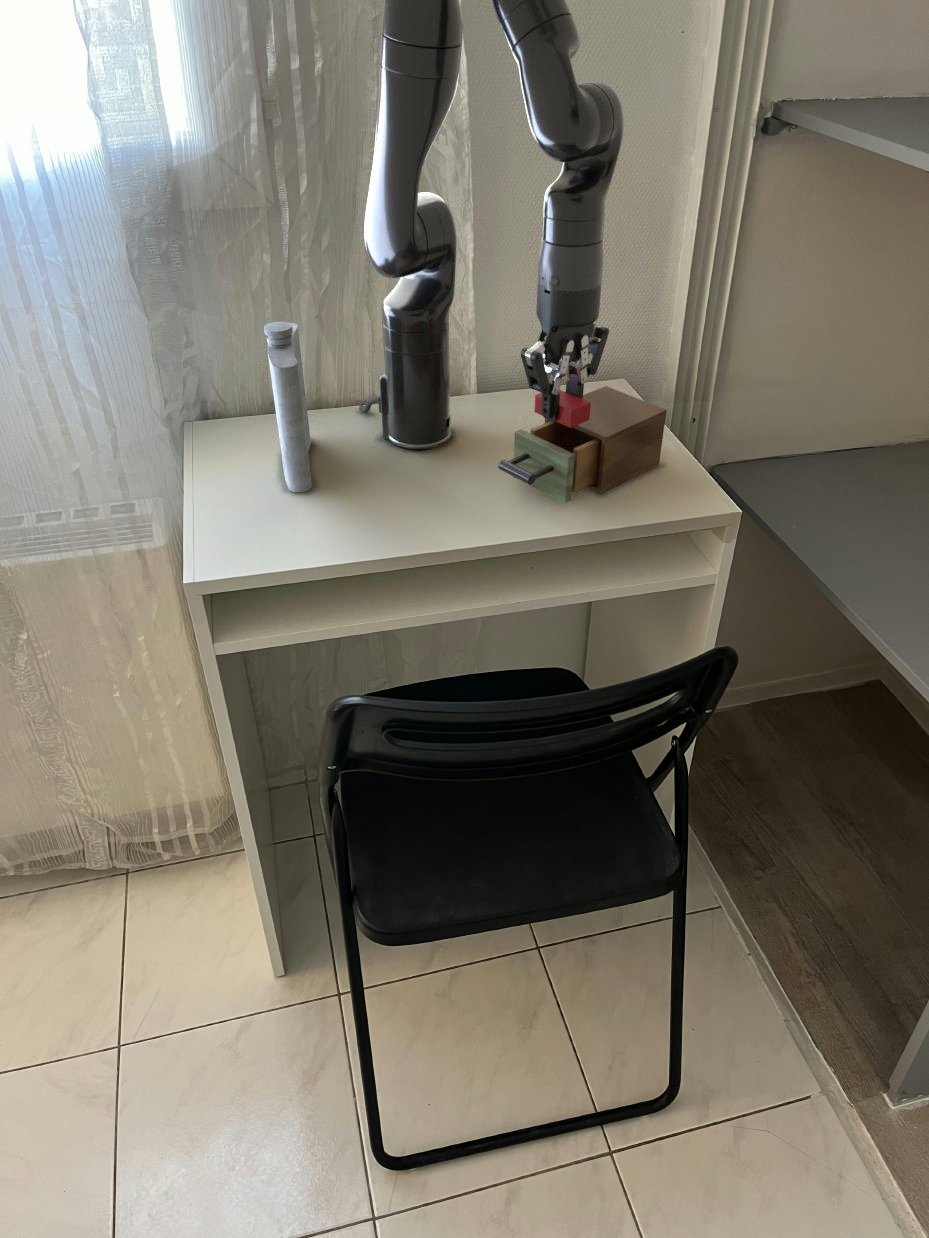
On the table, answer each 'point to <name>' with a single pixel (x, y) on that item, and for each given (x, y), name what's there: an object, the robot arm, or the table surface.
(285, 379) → the hip flask
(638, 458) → the cabinet
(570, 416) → the red block
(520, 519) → the table surface
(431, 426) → the robot arm
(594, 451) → the drawer
